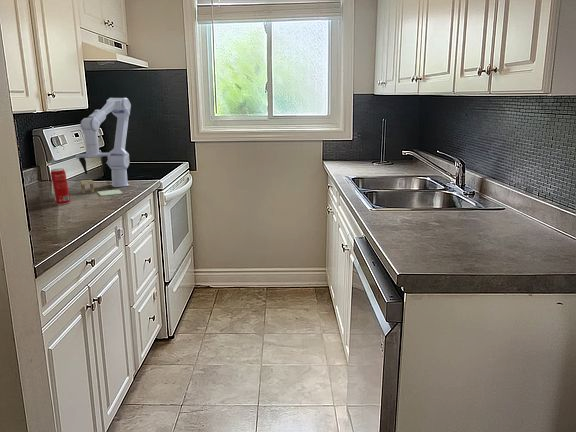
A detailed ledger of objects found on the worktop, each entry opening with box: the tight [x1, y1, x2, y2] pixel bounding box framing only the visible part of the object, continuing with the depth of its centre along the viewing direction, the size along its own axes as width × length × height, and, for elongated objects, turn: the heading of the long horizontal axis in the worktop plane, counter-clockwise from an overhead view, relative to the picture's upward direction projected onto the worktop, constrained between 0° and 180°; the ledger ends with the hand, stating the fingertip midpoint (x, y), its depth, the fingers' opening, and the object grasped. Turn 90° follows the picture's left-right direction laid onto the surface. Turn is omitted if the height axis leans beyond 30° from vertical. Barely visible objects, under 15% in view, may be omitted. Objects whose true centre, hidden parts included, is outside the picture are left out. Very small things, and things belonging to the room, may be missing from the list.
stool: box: [80, 179, 95, 195], centre depth 237 cm, size 5×5×6 cm
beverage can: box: [50, 168, 71, 206], centre depth 212 cm, size 6×6×15 cm
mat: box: [97, 189, 124, 197], centre depth 236 cm, size 10×10×1 cm
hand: (94, 173), depth 233 cm, fingers open, 7 cm apart
